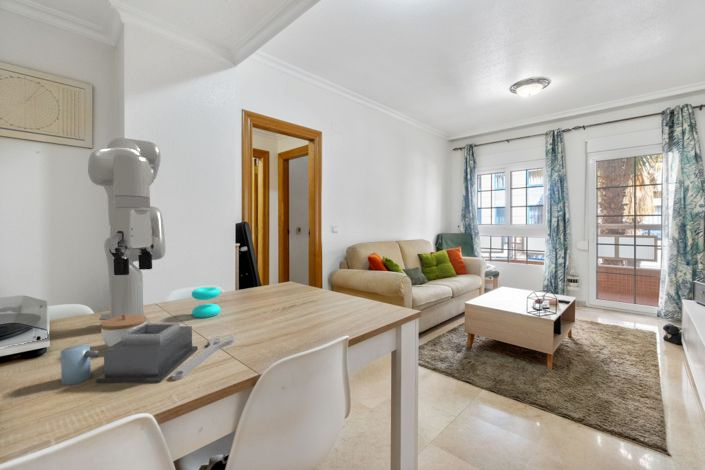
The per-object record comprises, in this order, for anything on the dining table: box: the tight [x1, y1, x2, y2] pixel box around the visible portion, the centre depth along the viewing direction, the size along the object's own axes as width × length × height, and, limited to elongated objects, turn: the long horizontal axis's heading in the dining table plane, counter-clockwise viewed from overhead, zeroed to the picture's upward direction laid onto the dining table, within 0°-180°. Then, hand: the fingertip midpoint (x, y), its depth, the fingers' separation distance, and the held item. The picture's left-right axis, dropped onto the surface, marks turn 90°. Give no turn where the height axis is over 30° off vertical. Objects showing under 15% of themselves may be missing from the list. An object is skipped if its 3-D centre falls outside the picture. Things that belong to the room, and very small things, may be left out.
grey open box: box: [96, 322, 198, 384], centre depth 79 cm, size 14×18×9 cm
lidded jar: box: [100, 314, 148, 348], centre depth 91 cm, size 11×11×9 cm
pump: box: [60, 344, 100, 386], centre depth 72 cm, size 7×5×7 cm
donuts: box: [191, 286, 221, 319], centre depth 122 cm, size 10×10×10 cm
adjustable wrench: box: [170, 334, 235, 381], centre depth 84 cm, size 25×6×2 cm, turn 171°
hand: (134, 271), depth 80 cm, fingers open, 9 cm apart
